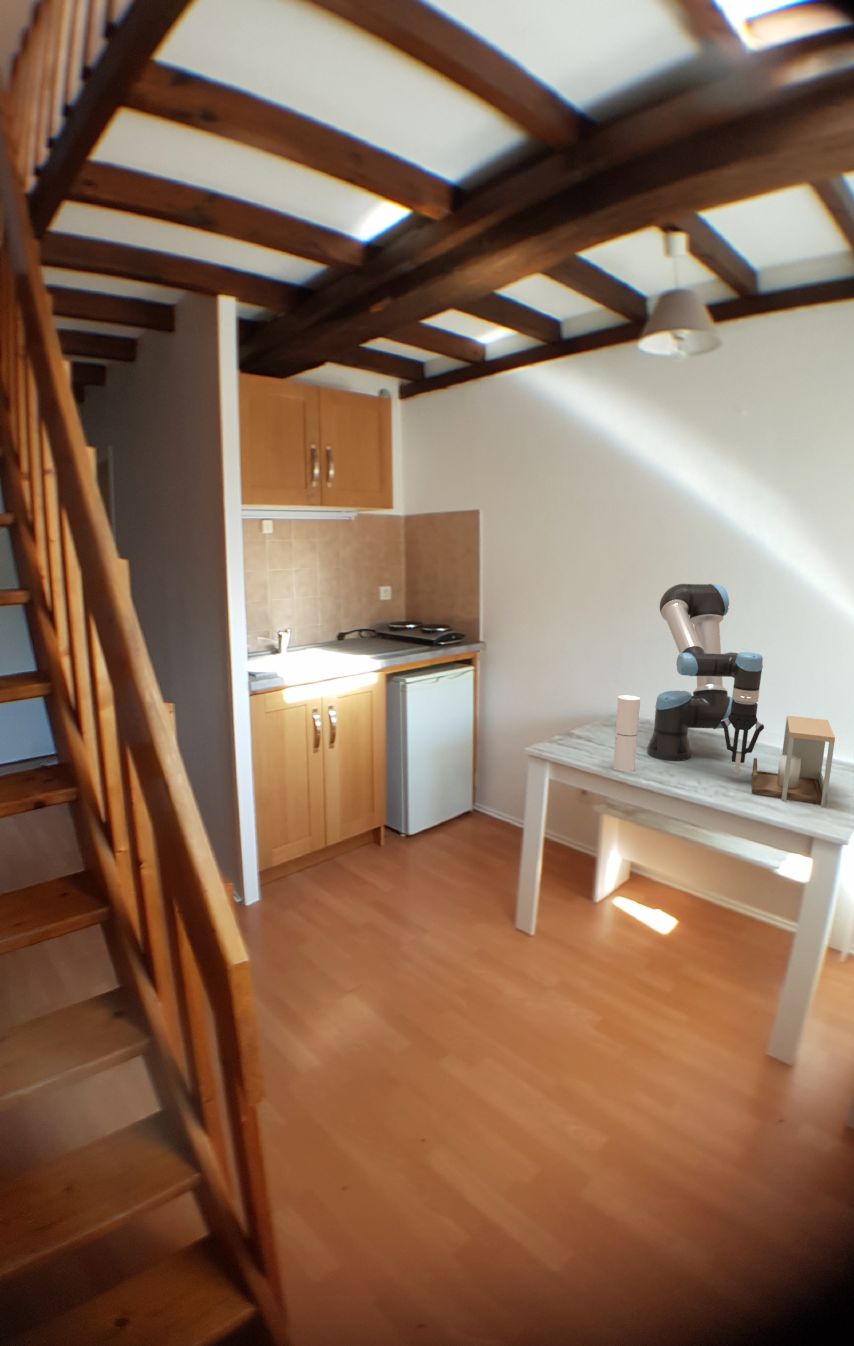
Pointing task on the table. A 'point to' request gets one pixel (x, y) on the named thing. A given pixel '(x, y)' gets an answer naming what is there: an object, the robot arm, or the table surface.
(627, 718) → the cylindrical container
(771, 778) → the tray
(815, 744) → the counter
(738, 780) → the table surface
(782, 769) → the beige rounded cylinder
